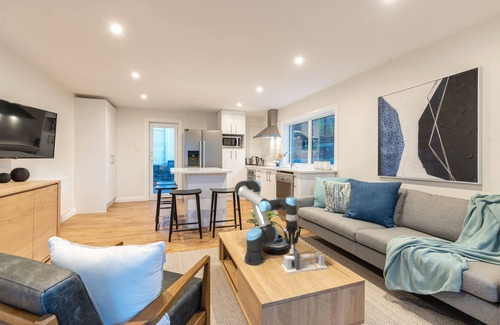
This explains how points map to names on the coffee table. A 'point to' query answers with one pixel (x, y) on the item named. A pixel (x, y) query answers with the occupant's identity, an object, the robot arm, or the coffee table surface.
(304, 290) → the coffee table surface
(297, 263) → the collar
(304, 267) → the pipe stand
